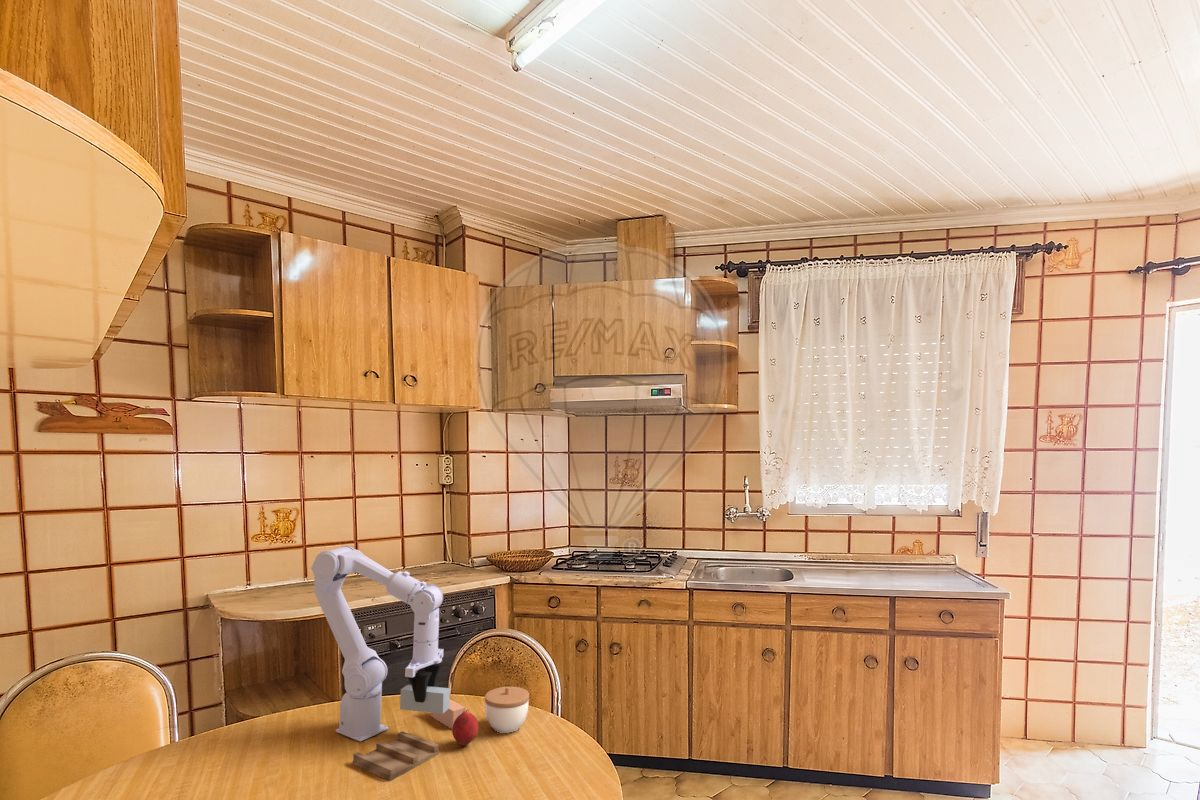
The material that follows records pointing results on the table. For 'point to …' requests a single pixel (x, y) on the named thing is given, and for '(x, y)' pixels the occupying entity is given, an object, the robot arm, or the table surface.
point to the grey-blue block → (426, 700)
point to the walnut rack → (396, 756)
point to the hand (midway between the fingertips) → (423, 698)
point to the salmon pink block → (449, 714)
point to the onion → (465, 728)
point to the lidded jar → (506, 708)
